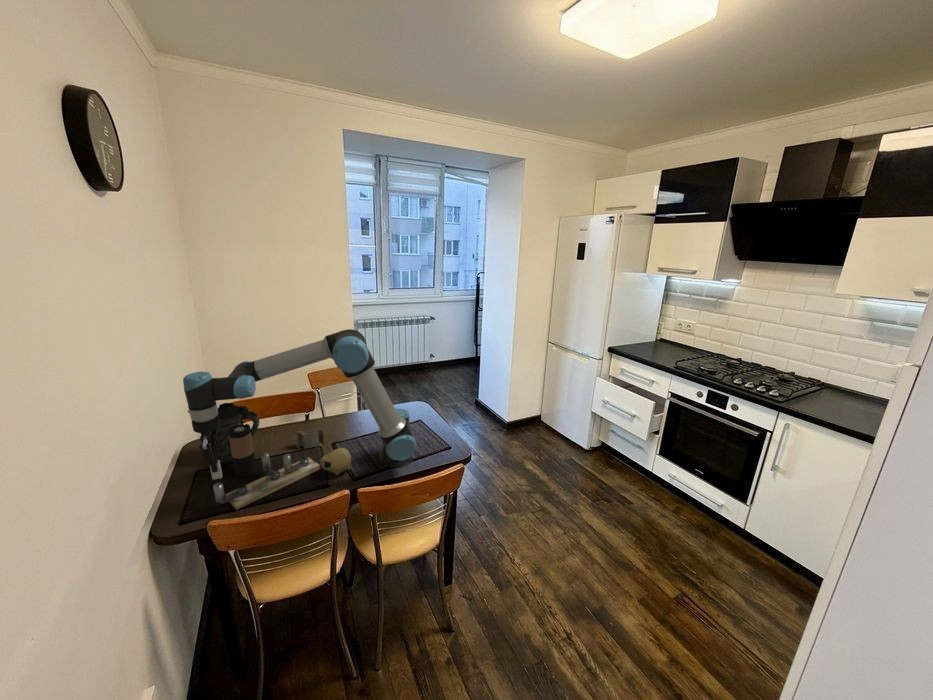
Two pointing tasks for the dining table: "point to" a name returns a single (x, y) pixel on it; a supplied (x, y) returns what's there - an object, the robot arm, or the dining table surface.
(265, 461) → the grey metal hook
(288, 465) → the grey coat hook
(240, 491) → the grey metal coat hook
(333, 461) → the toy pig
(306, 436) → the grey brown upright panel
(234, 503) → the coat hook board
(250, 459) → the travel mug
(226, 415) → the beer stein
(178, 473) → the dining table surface
